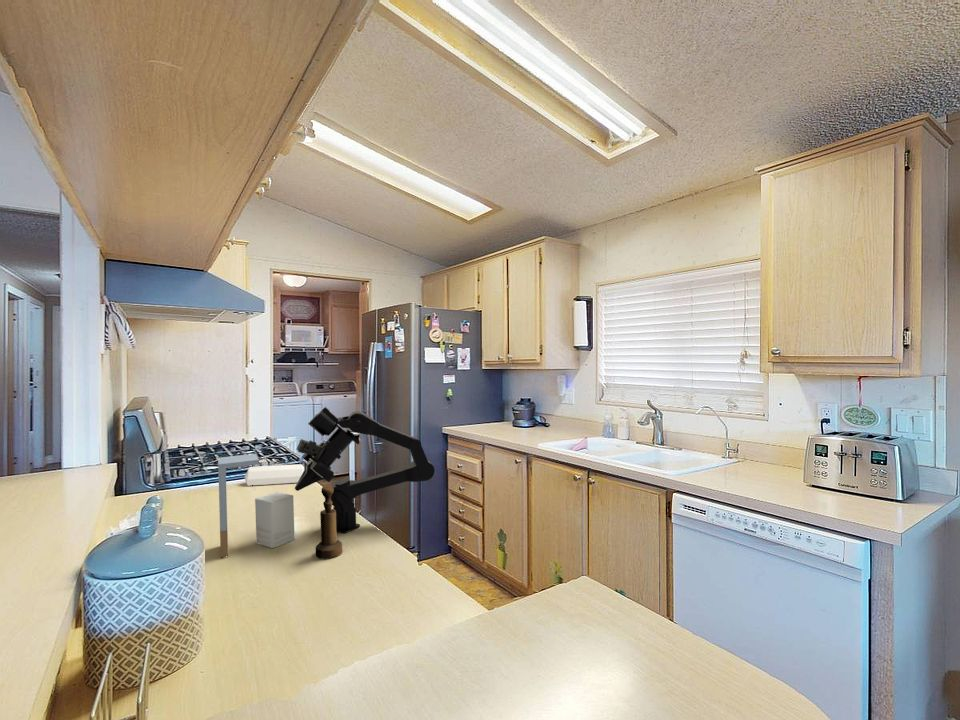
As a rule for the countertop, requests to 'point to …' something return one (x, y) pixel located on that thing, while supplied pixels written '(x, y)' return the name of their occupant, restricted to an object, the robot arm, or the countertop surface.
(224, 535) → the inverted l-shaped post
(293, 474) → the white faceted cylinder
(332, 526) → the brown chess piece
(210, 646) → the countertop surface
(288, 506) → the supplement box
